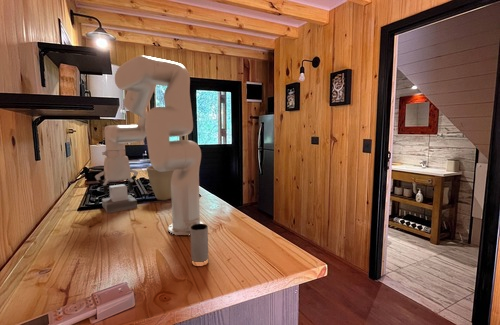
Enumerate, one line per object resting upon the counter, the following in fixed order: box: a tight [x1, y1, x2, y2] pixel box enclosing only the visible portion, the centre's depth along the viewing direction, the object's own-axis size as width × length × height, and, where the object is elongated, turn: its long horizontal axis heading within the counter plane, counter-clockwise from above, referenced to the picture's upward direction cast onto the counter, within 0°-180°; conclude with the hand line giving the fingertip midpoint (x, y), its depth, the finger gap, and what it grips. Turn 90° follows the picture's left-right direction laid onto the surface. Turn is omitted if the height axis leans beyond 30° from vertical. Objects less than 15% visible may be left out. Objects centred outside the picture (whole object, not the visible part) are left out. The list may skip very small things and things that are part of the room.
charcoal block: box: [101, 194, 138, 214], centre depth 121 cm, size 12×12×4 cm
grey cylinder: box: [190, 223, 209, 262], centre depth 73 cm, size 4×4×10 cm
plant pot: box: [146, 165, 174, 201], centre depth 135 cm, size 15×15×16 cm
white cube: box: [108, 183, 129, 202], centre depth 121 cm, size 6×6×6 cm
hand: (118, 192), depth 121 cm, fingers open, 9 cm apart
